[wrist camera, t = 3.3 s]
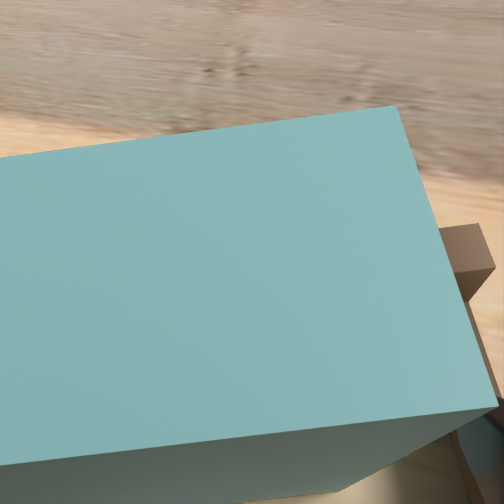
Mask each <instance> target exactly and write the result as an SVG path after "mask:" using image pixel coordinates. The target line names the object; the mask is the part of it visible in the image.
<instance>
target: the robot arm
mask: <svg viewBox="0 0 504 504" xmlns="http://www.w3.org/2000/svg"><path fill="white" fill-rule="evenodd" d="M495 396H496V395H495ZM496 399H497V401H498V404H499V407H497V408H495V409H493V410H491V411H489V412H487V413H485V414H484V415H482V416H480V417H478V418H476V419H474V420H472V421H470V422H469V423H467V424H465V425H463V426H461V427H459V428H457V433H458V439H459V443H460V446H461V448H462V451H463V453H464V455H465V457H466V460H467V462H468V464H469V466H470V469H471V471H472V473H473V475H474V477H475V480H476V482H477V484H478V486H479V489H480V491H481V493H482V495H483V498H484V500H485V502H486V504H504V399H503V398H500V397H498V396H496Z"/></svg>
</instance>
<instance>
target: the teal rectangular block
mask: <svg viewBox="0 0 504 504" xmlns="http://www.w3.org/2000/svg"><path fill="white" fill-rule="evenodd" d="M497 407H499V404H498V401H497V399H496V396H495V393H494V390H493V387H492V384H491V381H490V378H489V375H488V372H487V369H486V366H485V364H484V361H483V358H482V355H481V352H480V349H479V346H478V343H477V340H476V337H475V334H474V331H473V329H472V326H471V323H470V320H469V317H468V314H467V311H466V308H465V305H464V302H463V299H462V296H461V294H460V291H459V288H458V285H457V282H456V279H455V276H454V273H453V270H452V267H451V264H450V262H449V259H448V256H447V253H446V250H445V247H444V244H443V241H442V238H441V235H440V232H439V229H438V227H437V224H436V221H435V218H434V215H433V212H432V209H431V206H430V203H429V200H428V197H427V194H426V192H425V189H424V186H423V183H422V180H421V177H420V174H419V171H418V168H417V165H416V162H415V160H414V157H413V154H412V151H411V148H410V145H409V142H408V139H407V136H406V133H405V130H404V127H403V125H402V122H401V119H400V116H399V113H398V110H397V107H396V105H393V106H386V107H378V108H371V109H363V110H356V111H348V112H340V113H333V114H325V115H318V116H310V117H303V118H295V119H288V120H280V121H273V122H265V123H258V124H250V125H243V126H235V127H228V128H220V129H212V130H205V131H197V132H190V133H182V134H175V135H167V136H160V137H152V138H145V139H137V140H130V141H122V142H115V143H107V144H100V145H92V146H84V147H77V148H69V149H62V150H54V151H47V152H39V153H32V154H24V155H17V156H9V157H2V158H0V504H232V503H241V502H249V501H258V500H267V499H275V498H284V497H292V496H301V495H310V494H318V493H327V492H336V491H341V490H343V489H345V488H347V487H348V486H350V485H352V484H354V483H356V482H358V481H360V480H362V479H363V478H365V477H367V476H369V475H371V474H373V473H375V472H377V471H378V470H380V469H382V468H384V467H386V466H388V465H390V464H392V463H393V462H395V461H397V460H399V459H401V458H403V457H405V456H407V455H408V454H410V453H412V452H414V451H416V450H418V449H420V448H422V447H423V446H425V445H427V444H429V443H431V442H433V441H435V440H437V439H439V438H440V437H442V436H444V435H446V434H448V433H450V432H452V431H454V430H455V429H457V428H459V427H461V426H463V425H465V424H467V423H469V422H470V421H472V420H474V419H476V418H478V417H480V416H482V415H484V414H485V413H487V412H489V411H491V410H493V409H495V408H497Z"/></svg>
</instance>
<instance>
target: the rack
mask: <svg viewBox="0 0 504 504" xmlns="http://www.w3.org/2000/svg"><path fill="white" fill-rule="evenodd" d="M438 229H439V232H440V235H441V238H442V241H443V244H444V247H445V250H446V253H447V256H448V259H449V262H450V264H451V267H452V270H453V273H454V276H455V279H456V282H457V285H458V288H459V291H460V294H461V296H462V299H463V302H464V305H465V308H466V311H467V314H468V317H469V320H470V323H471V326H472V329H473V331H474V334H475V337H476V340H477V343H478V346H479V349H480V352H481V355H482V358H483V361H484V364H485V366H486V369H487V372H488V375H489V378H490V381H491V384H492V387H493V390H494V393H495V395H496V396H498V397H500V398H502V397H501V394H500V391H499V388H498V385H497V382H496V380H495V377H494V374H493V371H492V368H491V365H490V362H489V359H488V357H487V354H486V351H485V348H484V345H483V342H482V339H481V337H480V334H479V331H478V328H477V325H476V322H475V319H474V317H473V314H472V311H471V308H470V305H469V300H470V299H471V298H472V297H473V295H474V294H475V293H476V292H477V290H478V289H479V288H480V287H481V285H482V284H483V283H484V282H485V280H486V279H487V278H488V277H489V276H490V274H491V273H492V272H493V271H494V269H495V268H496V266H495V264H494V261H493V259H492V256H491V254H490V251H489V248H488V246H487V243H486V241H485V238H484V236H483V233H482V231H481V228H480V226H479V223H477V224H469V225H461V226H453V227H445V228H438ZM450 434H451V438H452V441H453V445H454V448H455V452H456V455H457V459H458V462H459V466H460V469H461V473H462V476H463V480H464V483H465V487H466V490H467V494H468V497H469V501H470V504H486V502H485V500H484V498H483V495H482V493H481V491H480V489H479V486H478V484H477V482H476V480H475V477H474V475H473V473H472V471H471V469H470V466H469V464H468V462H467V460H466V457H465V455H464V453H463V451H462V448H461V446H460V443H459V439H458V433H457V429H455V430H454V431H452V432H450Z"/></svg>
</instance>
